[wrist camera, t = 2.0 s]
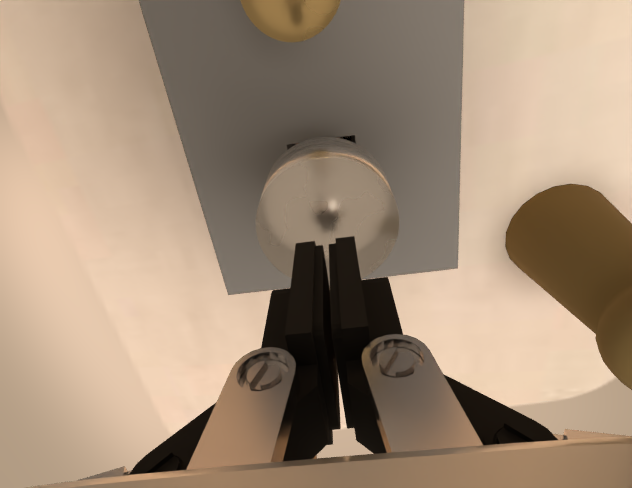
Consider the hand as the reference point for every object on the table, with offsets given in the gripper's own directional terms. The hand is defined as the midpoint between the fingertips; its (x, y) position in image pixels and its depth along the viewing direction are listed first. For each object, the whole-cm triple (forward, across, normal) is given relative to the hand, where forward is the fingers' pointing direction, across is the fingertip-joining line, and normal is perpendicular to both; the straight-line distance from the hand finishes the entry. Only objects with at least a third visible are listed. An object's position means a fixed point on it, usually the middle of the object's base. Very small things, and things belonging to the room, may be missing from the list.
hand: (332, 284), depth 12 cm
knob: (+9, 0, -1) cm, 9 cm away
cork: (+12, -13, +6) cm, 19 cm away
